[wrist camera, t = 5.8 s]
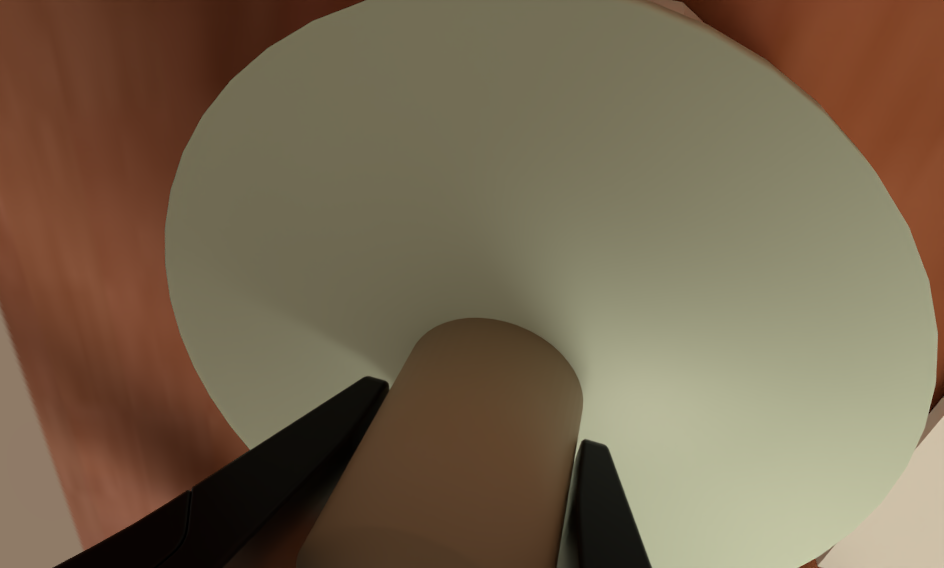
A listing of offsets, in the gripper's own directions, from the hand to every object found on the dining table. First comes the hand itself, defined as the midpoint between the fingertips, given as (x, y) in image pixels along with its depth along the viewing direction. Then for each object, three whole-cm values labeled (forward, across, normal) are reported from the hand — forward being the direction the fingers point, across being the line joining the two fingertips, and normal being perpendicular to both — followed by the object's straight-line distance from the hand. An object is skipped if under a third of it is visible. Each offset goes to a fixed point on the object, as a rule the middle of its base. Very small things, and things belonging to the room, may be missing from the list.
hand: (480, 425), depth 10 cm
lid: (+2, 0, 0) cm, 2 cm away
